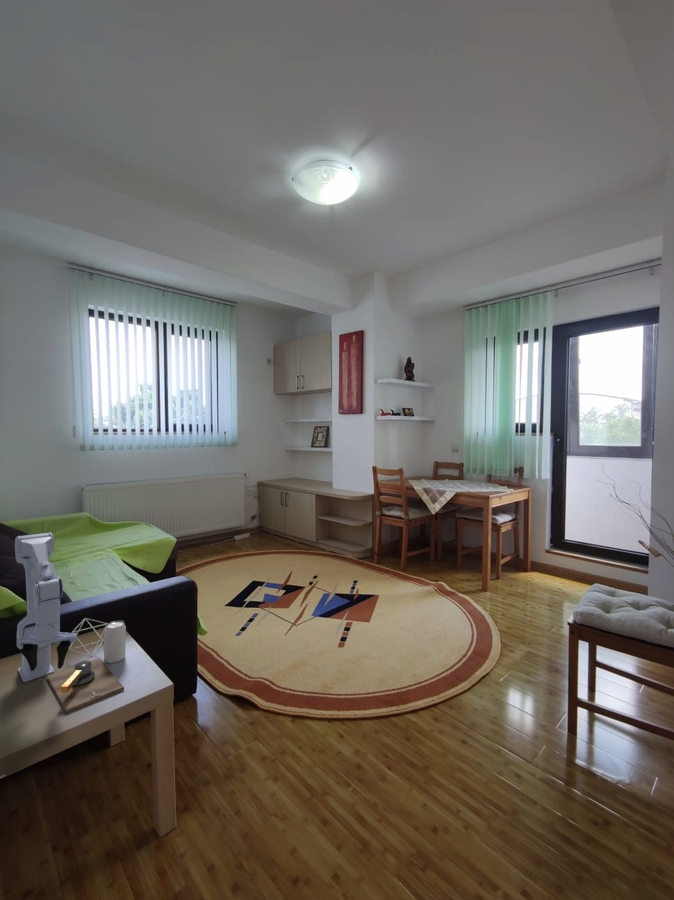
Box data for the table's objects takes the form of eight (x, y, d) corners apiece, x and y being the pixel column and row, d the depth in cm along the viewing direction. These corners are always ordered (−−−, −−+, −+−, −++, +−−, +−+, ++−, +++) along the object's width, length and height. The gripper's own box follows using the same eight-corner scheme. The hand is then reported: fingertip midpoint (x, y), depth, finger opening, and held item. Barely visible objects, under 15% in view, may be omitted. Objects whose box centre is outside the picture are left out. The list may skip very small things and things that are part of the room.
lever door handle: (75, 672, 129) (75, 660, 129) (98, 671, 130) (98, 659, 130) (50, 700, 116) (51, 686, 116) (77, 699, 117) (77, 685, 117)
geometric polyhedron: (92, 638, 154) (92, 614, 153) (114, 643, 150) (114, 619, 150) (60, 654, 142) (60, 628, 141) (83, 661, 138) (83, 635, 138)
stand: (46, 678, 128) (46, 674, 128) (99, 660, 139) (99, 657, 139) (66, 713, 113) (66, 709, 113) (123, 689, 124) (124, 686, 124)
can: (120, 651, 145) (121, 618, 144) (128, 658, 141) (129, 624, 140) (100, 658, 140) (101, 624, 139) (108, 666, 136) (109, 630, 135)
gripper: (11, 630, 112) (10, 678, 112) (70, 626, 115) (70, 673, 116) (24, 618, 118) (23, 664, 119) (80, 615, 122) (79, 659, 122)
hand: (47, 667), depth 118 cm, fingers open, 6 cm apart
